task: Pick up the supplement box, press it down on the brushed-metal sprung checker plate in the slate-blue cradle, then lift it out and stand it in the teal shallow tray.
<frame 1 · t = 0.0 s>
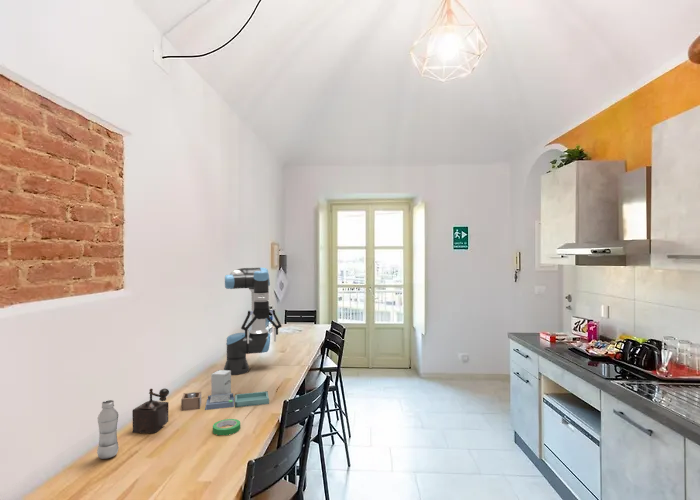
hand: (261, 342, 203), 28 cm above the breakfast bar, fingers open, 13 cm apart
plastic bottle: (108, 457, 144), on the breakfast bar
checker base: (220, 404, 192), on the breakfast bar
manual coffee grinder: (156, 428, 167), on the breakfast bar
teal shallow tray: (251, 401, 196), on the breakfast bar
supplement box: (221, 396, 204), on the breakfast bar
checker plate: (220, 399, 192), point 3 cm above the breakfast bar, slide at -0.1 cm
tape roll: (226, 430, 165), on the breakfast bar
brown open box: (191, 408, 189), on the breakfast bar
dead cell: (191, 406, 189), point 1 cm above the breakfast bar, touching brown open box
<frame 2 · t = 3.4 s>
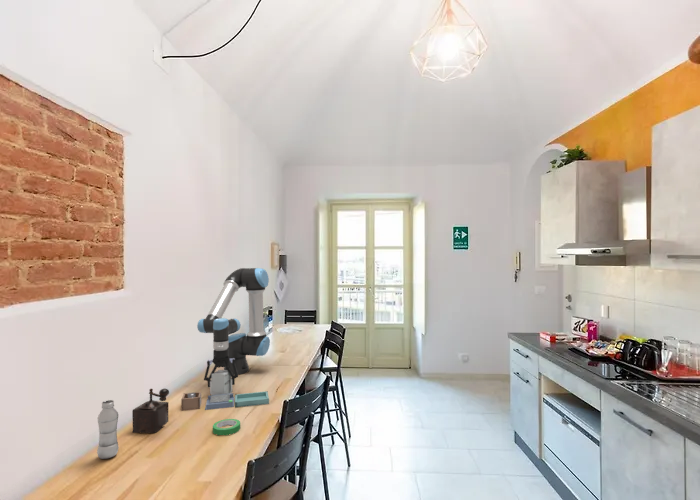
hand: (221, 392, 204), 2 cm above the breakfast bar, fingers closed on supplement box, 9 cm apart
supplement box: (221, 396, 204), on the breakfast bar, touching gripper
everything else where it was.
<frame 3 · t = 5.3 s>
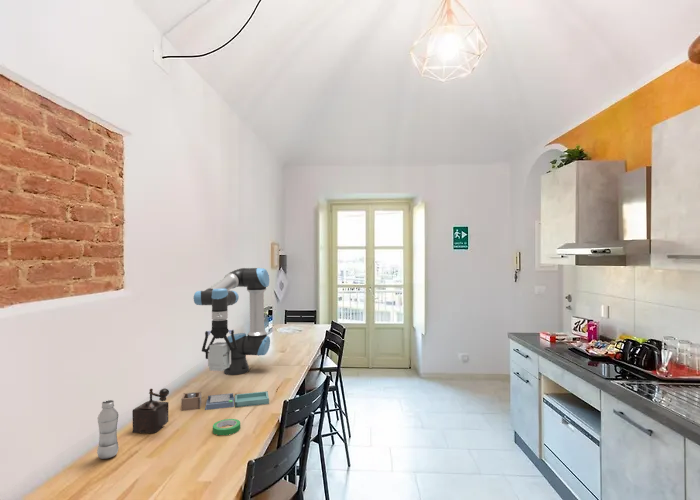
hand: (219, 364, 197), 18 cm above the breakfast bar, fingers closed on supplement box, 9 cm apart
supplement box: (219, 369, 196), point 16 cm above the breakfast bar, touching gripper
everything else where it was.
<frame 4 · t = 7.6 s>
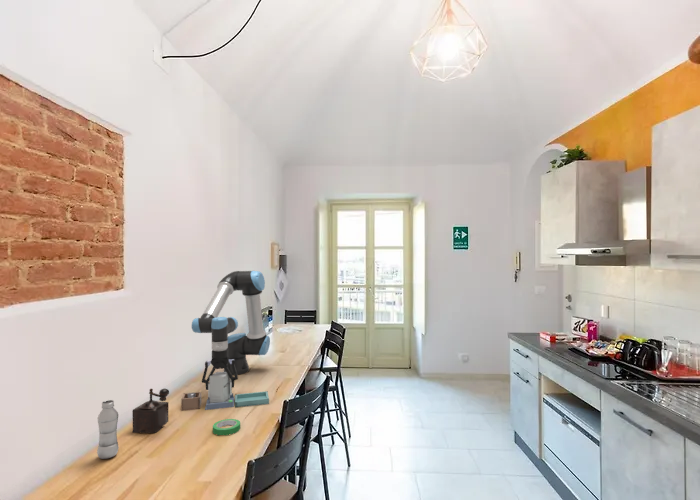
hand: (220, 395, 192), 5 cm above the breakfast bar, fingers closed on supplement box, 9 cm apart
supplement box: (220, 400, 192), point 2 cm above the breakfast bar, touching checker plate, gripper
checker plate: (220, 400, 192), point 2 cm above the breakfast bar, slide at -0.9 cm, touching supplement box
everything else where it was.
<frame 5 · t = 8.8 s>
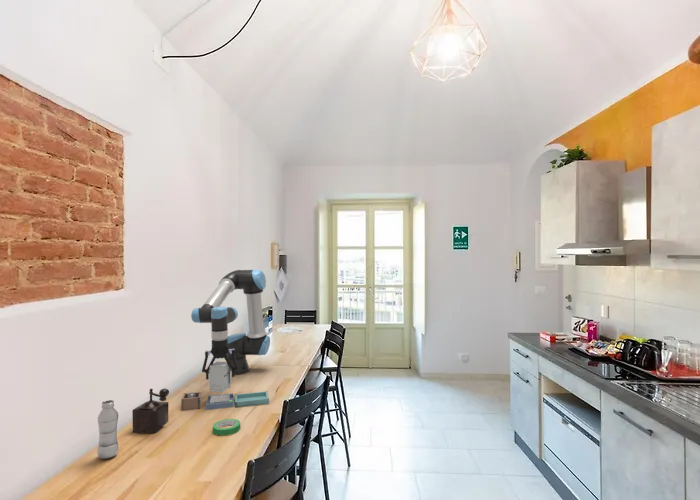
hand: (220, 384, 193), 10 cm above the breakfast bar, fingers closed on supplement box, 9 cm apart
supplement box: (220, 389, 193), point 7 cm above the breakfast bar, touching gripper
checker plate: (220, 399, 192), point 3 cm above the breakfast bar, slide at -0.3 cm
everything else where it was.
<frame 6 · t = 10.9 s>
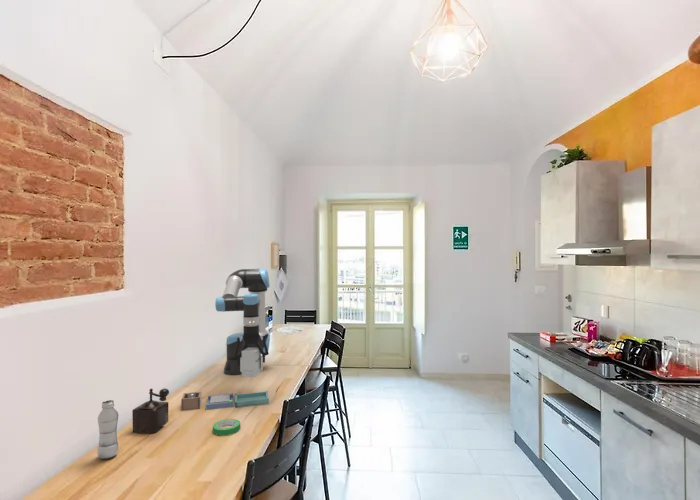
hand: (251, 370, 196), 16 cm above the breakfast bar, fingers closed on supplement box, 9 cm apart
supplement box: (251, 375, 196), point 13 cm above the breakfast bar, touching gripper
everything else where it was.
when the fingers open (5 cm above the breakfast bar, at t = 12.9 s): supplement box stays where it is, resting on teal shallow tray.
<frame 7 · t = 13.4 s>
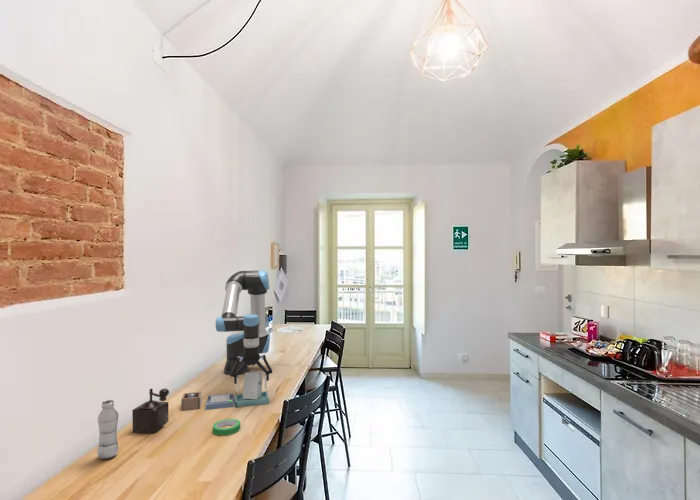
hand: (251, 388, 196), 6 cm above the breakfast bar, fingers open, 13 cm apart
supplement box: (251, 399, 195), point 1 cm above the breakfast bar, touching teal shallow tray
everything else where it was.
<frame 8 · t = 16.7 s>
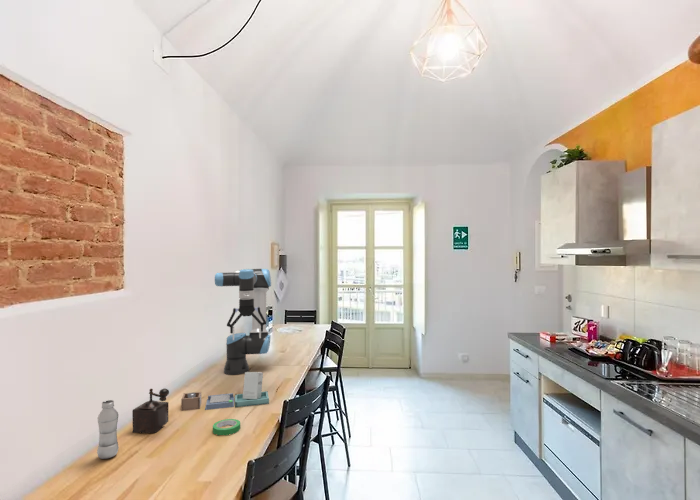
hand: (246, 338, 208), 29 cm above the breakfast bar, fingers open, 13 cm apart
nothing on the breakfast bar moved.
at the end: supplement box inside the target area on the teal shallow tray (0.8 cm from its centre), point 1.5 cm above the teal shallow tray's base; supplement box tilted 17°; the gripper is holding nothing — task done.
